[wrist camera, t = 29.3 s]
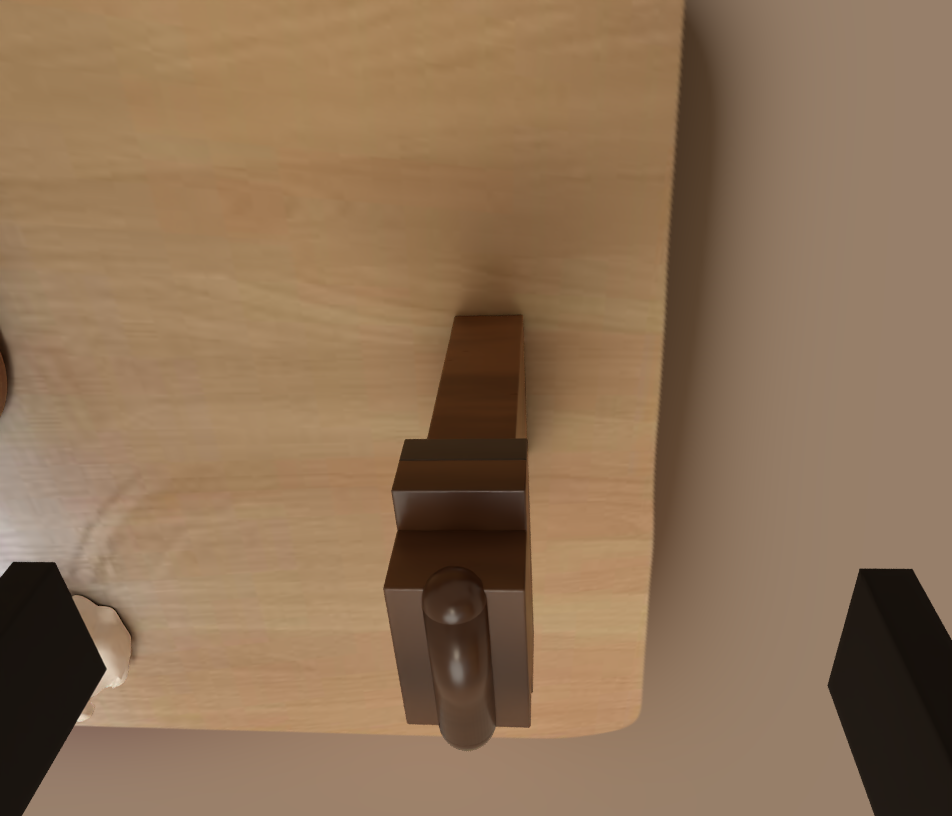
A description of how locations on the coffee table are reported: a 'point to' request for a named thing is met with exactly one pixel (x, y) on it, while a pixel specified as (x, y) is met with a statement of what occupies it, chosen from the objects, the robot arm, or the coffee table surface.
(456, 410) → the wooden block
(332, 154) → the coffee table surface
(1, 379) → the planter
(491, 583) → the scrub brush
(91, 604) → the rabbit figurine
